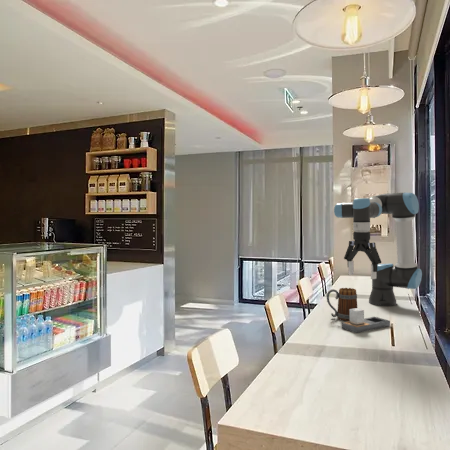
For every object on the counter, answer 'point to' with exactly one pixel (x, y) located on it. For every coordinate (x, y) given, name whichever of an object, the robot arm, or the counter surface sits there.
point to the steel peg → (357, 316)
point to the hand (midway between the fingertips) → (362, 276)
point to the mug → (344, 302)
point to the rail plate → (366, 325)
